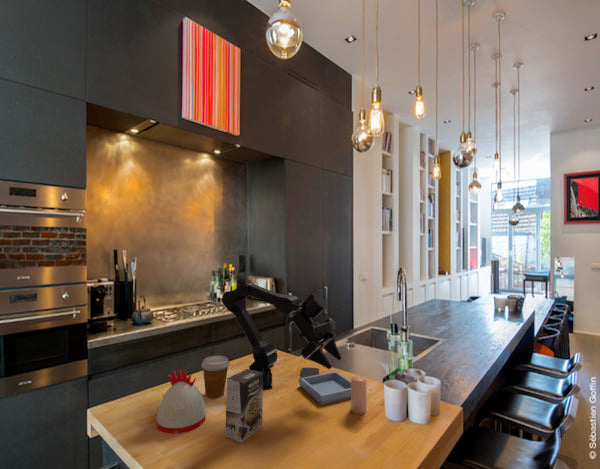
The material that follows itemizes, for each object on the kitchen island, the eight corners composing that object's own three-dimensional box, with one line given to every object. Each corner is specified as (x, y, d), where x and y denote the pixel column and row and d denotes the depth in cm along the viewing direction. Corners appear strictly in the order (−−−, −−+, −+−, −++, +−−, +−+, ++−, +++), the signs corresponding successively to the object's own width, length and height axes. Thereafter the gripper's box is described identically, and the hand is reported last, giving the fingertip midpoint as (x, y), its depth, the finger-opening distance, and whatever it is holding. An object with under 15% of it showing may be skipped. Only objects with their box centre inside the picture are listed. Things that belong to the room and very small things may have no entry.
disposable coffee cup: (195, 397, 116) (195, 362, 117) (212, 386, 125) (212, 353, 125) (218, 402, 113) (218, 366, 113) (234, 391, 122) (234, 357, 122)
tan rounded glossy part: (356, 415, 106) (357, 383, 106) (347, 408, 110) (348, 377, 110) (369, 412, 108) (370, 380, 108) (360, 405, 113) (360, 375, 113)
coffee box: (242, 444, 90) (243, 383, 91) (224, 436, 94) (225, 377, 94) (263, 428, 98) (264, 372, 98) (246, 421, 101) (247, 367, 102)
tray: (321, 405, 112) (322, 396, 112) (299, 386, 126) (300, 378, 126) (360, 395, 119) (360, 387, 120) (335, 378, 134) (335, 371, 134)
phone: (298, 382, 129) (301, 367, 144) (298, 384, 129) (301, 369, 144) (318, 383, 129) (319, 368, 143) (318, 385, 129) (319, 370, 143)
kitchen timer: (168, 408, 109) (169, 361, 109) (211, 410, 108) (212, 362, 108) (147, 433, 95) (149, 379, 95) (196, 435, 94) (197, 380, 95)
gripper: (310, 317, 107) (342, 358, 102) (331, 307, 124) (360, 341, 119) (288, 338, 111) (318, 379, 106) (311, 325, 127) (339, 360, 122)
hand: (335, 363), depth 113 cm, fingers open, 9 cm apart
